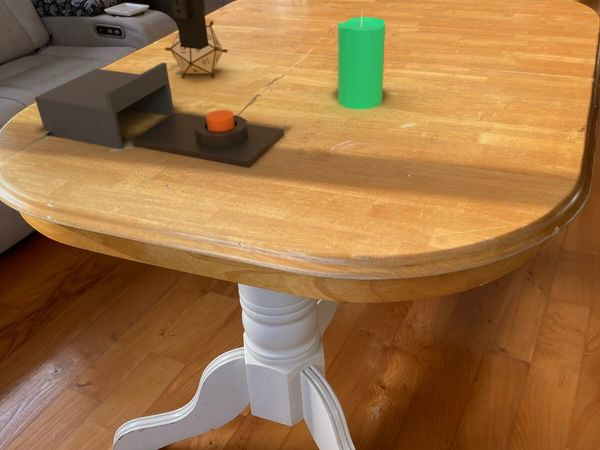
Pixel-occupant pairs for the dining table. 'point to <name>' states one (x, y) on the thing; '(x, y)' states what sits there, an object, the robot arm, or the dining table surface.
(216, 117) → the orange button cap
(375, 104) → the candle
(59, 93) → the cover
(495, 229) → the dining table surface
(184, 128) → the dark grey button base
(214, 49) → the game die
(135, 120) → the dining table surface
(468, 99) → the dining table surface
